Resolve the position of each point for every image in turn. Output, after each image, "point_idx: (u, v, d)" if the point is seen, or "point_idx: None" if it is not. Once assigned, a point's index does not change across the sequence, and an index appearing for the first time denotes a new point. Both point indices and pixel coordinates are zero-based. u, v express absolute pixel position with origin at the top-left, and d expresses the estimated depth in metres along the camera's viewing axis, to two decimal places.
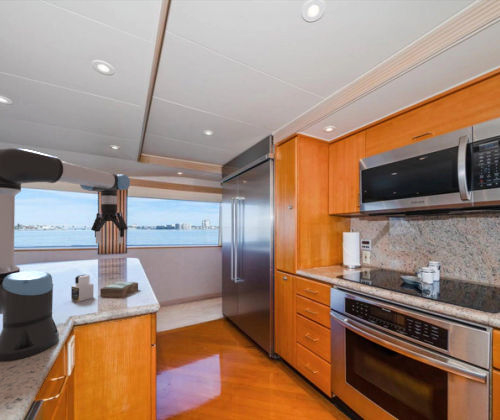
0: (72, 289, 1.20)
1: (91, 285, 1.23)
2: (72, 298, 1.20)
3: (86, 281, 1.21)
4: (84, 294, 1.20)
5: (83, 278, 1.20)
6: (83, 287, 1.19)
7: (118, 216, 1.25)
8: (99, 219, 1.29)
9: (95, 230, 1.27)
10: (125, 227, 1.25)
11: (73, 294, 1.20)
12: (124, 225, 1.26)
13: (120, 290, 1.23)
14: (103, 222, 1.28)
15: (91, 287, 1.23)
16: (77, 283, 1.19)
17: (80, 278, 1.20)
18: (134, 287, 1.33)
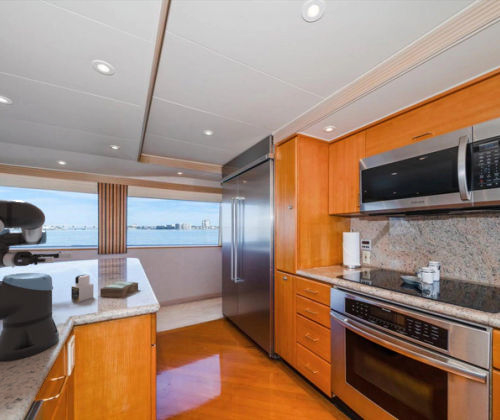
0: (72, 289, 1.20)
1: (91, 285, 1.23)
2: (72, 298, 1.20)
3: (86, 281, 1.21)
4: (84, 294, 1.20)
5: (83, 278, 1.20)
6: (83, 287, 1.19)
7: (43, 254, 1.27)
8: None
9: (36, 257, 1.14)
10: None
11: (73, 294, 1.20)
12: None
13: (120, 290, 1.23)
14: None
15: (91, 287, 1.23)
16: (77, 283, 1.19)
17: (80, 278, 1.20)
18: (134, 287, 1.33)
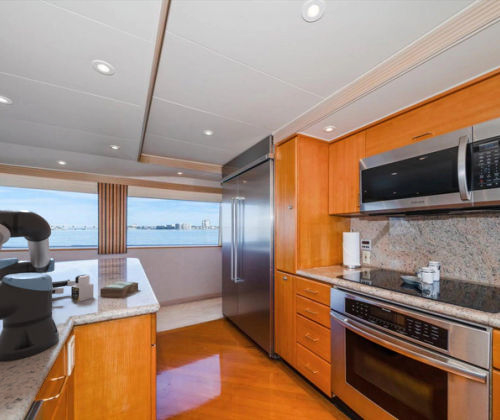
0: (72, 289, 1.20)
1: (91, 285, 1.23)
2: (72, 298, 1.20)
3: (86, 281, 1.21)
4: (84, 294, 1.20)
5: (83, 278, 1.20)
6: (83, 287, 1.19)
7: (52, 282, 1.28)
8: None
9: None
10: None
11: (73, 294, 1.20)
12: None
13: (120, 290, 1.23)
14: None
15: (91, 287, 1.23)
16: (77, 283, 1.19)
17: (80, 278, 1.20)
18: (134, 287, 1.33)
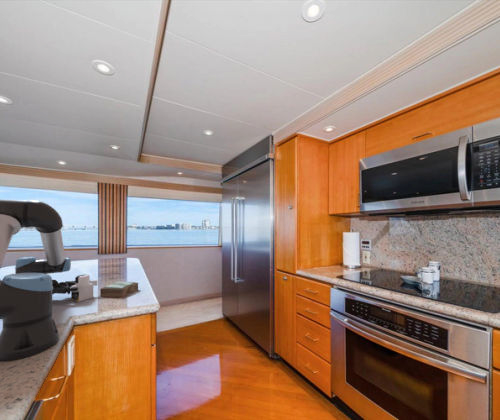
0: None
1: (91, 285, 1.23)
2: (71, 298, 1.20)
3: (86, 281, 1.21)
4: (84, 294, 1.20)
5: (83, 278, 1.20)
6: None
7: (69, 281, 1.28)
8: None
9: (69, 287, 1.16)
10: None
11: (73, 294, 1.20)
12: None
13: (120, 290, 1.23)
14: None
15: (91, 287, 1.23)
16: (77, 283, 1.19)
17: (80, 278, 1.20)
18: (134, 287, 1.33)
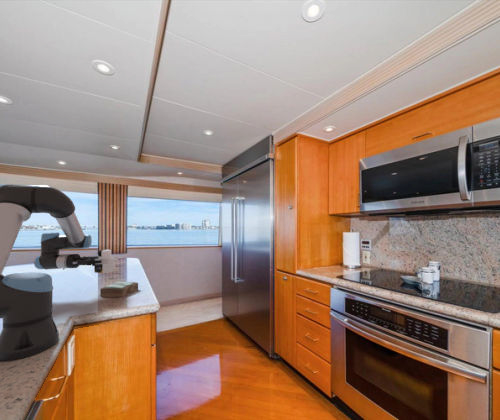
0: None
1: (113, 259, 1.29)
2: (95, 271, 1.26)
3: (108, 255, 1.28)
4: (107, 267, 1.26)
5: (106, 252, 1.27)
6: None
7: None
8: None
9: (93, 259, 1.23)
10: None
11: (96, 267, 1.26)
12: None
13: (120, 290, 1.23)
14: None
15: (113, 261, 1.29)
16: (100, 256, 1.26)
17: (103, 252, 1.26)
18: (134, 287, 1.33)
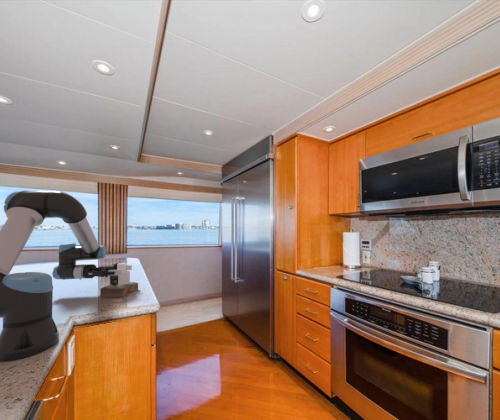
0: None
1: (128, 272, 1.32)
2: (110, 283, 1.29)
3: (124, 268, 1.30)
4: (122, 280, 1.29)
5: (121, 265, 1.29)
6: None
7: None
8: None
9: (106, 270, 1.24)
10: None
11: (112, 280, 1.28)
12: None
13: (120, 290, 1.23)
14: None
15: (128, 274, 1.32)
16: None
17: (118, 265, 1.28)
18: (134, 287, 1.33)
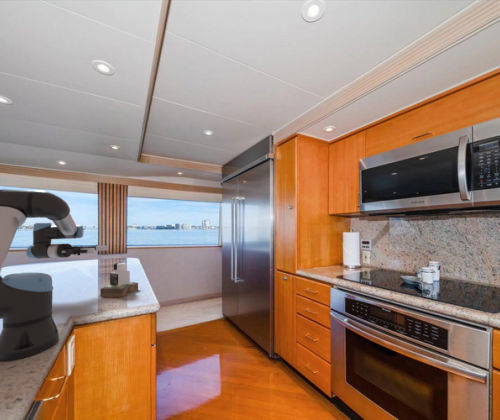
0: (111, 275, 1.29)
1: (128, 272, 1.32)
2: (110, 283, 1.29)
3: (123, 268, 1.30)
4: (122, 280, 1.29)
5: (121, 265, 1.29)
6: (121, 273, 1.28)
7: None
8: None
9: (79, 249, 1.23)
10: None
11: (112, 280, 1.28)
12: None
13: (120, 290, 1.23)
14: None
15: (128, 274, 1.32)
16: (116, 270, 1.28)
17: (118, 265, 1.28)
18: (134, 287, 1.33)
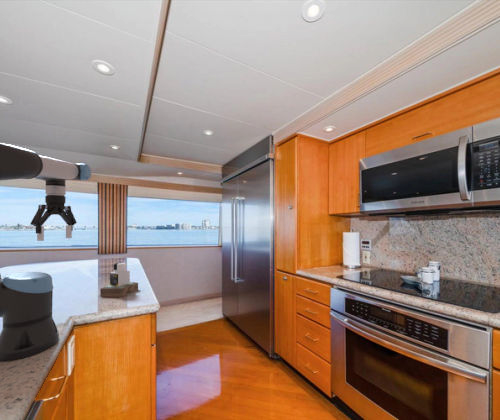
0: (111, 275, 1.29)
1: (128, 272, 1.32)
2: (110, 283, 1.29)
3: (123, 268, 1.30)
4: (122, 280, 1.29)
5: (121, 265, 1.29)
6: (121, 273, 1.28)
7: (70, 210, 1.20)
8: None
9: (41, 225, 1.06)
10: None
11: (112, 280, 1.28)
12: None
13: (120, 290, 1.23)
14: None
15: (128, 274, 1.32)
16: (116, 270, 1.28)
17: (118, 265, 1.28)
18: (134, 287, 1.33)
